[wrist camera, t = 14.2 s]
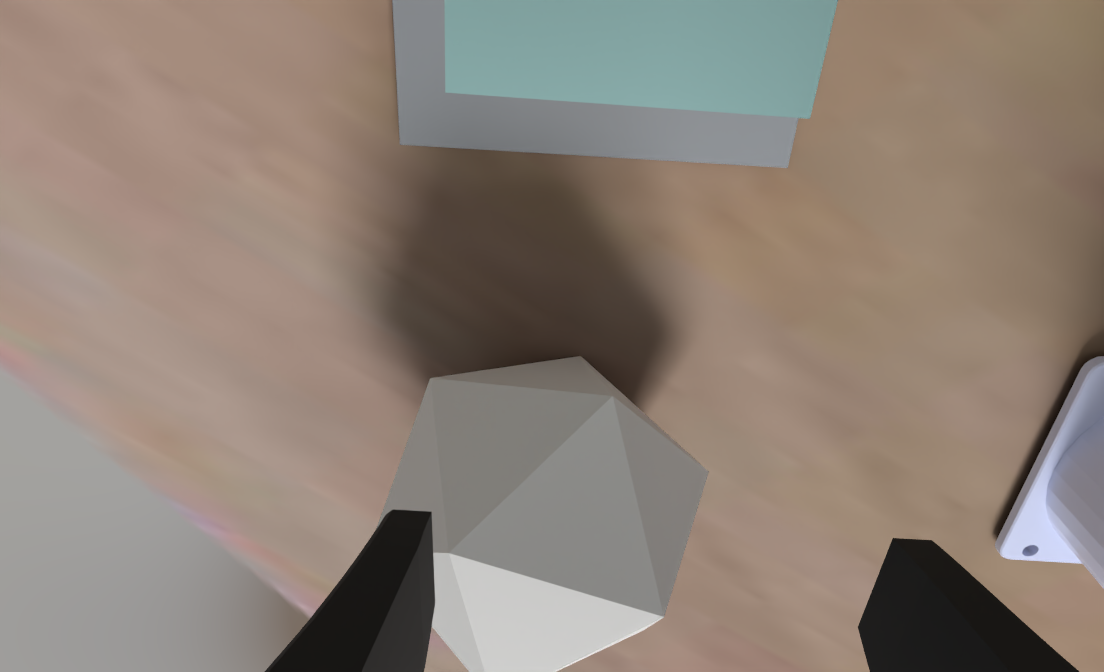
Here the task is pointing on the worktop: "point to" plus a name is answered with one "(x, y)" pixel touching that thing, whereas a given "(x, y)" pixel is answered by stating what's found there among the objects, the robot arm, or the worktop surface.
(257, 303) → the worktop surface
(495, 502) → the die
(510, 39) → the teal block
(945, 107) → the worktop surface
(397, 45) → the grey square plate
